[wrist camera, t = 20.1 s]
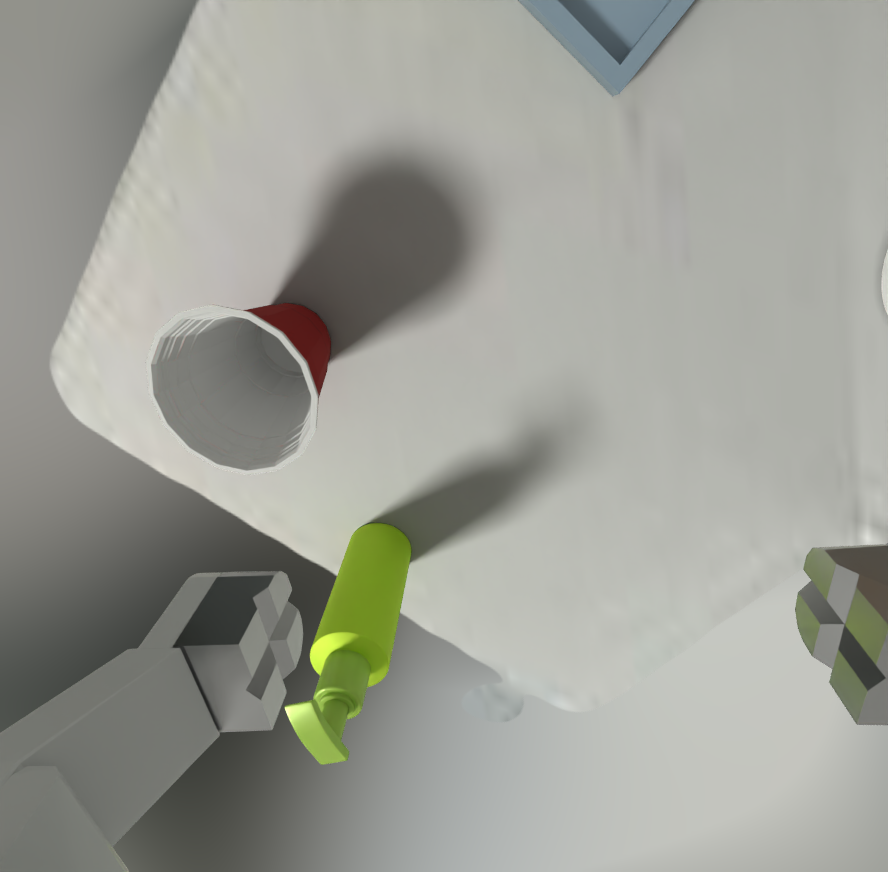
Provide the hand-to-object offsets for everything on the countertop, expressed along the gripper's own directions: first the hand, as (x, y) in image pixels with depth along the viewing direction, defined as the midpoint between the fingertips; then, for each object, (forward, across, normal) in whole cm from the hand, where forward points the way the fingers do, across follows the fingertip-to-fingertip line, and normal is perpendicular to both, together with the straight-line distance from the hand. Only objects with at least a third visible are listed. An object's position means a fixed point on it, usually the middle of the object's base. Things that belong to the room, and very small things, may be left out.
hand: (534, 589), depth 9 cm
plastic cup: (+34, +16, +5) cm, 38 cm away
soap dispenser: (+34, +13, +25) cm, 45 cm away
